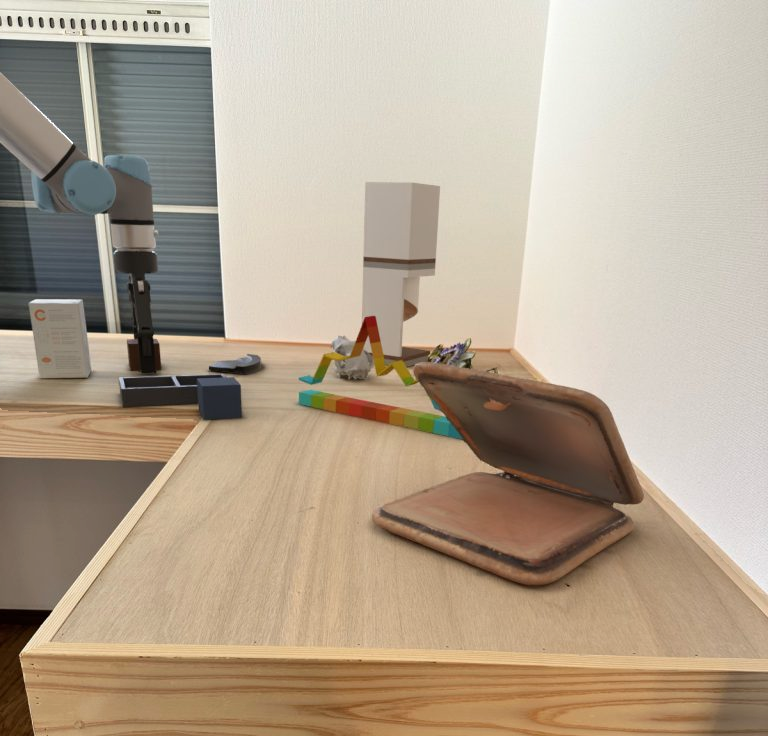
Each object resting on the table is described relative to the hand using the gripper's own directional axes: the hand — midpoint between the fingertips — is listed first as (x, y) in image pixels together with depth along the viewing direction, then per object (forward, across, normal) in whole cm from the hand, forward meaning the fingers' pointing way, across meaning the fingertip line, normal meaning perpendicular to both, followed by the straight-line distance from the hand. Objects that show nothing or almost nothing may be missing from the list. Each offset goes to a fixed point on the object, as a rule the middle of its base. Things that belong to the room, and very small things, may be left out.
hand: (145, 366), depth 141 cm
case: (0, -90, -28) cm, 94 cm away
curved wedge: (0, -4, -18) cm, 18 cm away
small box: (0, -5, +14) cm, 15 cm away
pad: (0, -39, -8) cm, 40 cm away
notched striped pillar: (+1, -1, -52) cm, 52 cm away
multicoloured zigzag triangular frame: (+1, -47, -31) cm, 56 cm away
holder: (0, -27, -3) cm, 27 cm away
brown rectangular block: (0, 0, 0) cm, 0 cm away
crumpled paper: (+1, -15, -37) cm, 40 cm away
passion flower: (+1, -35, -50) cm, 61 cm away
